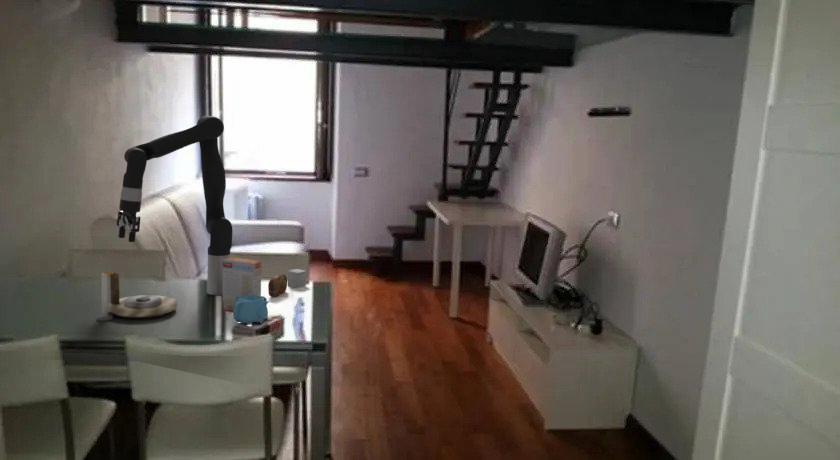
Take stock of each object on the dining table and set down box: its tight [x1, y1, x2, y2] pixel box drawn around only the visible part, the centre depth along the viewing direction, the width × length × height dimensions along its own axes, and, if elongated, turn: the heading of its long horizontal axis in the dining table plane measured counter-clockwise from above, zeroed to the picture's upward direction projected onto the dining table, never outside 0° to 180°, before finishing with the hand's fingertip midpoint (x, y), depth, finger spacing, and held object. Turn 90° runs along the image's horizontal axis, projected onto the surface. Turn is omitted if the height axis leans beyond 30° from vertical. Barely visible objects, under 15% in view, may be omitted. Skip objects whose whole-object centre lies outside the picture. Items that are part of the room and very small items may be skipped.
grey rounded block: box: [287, 268, 307, 289], centre depth 295 cm, size 6×6×7 cm
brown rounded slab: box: [267, 274, 288, 298], centre depth 279 cm, size 15×3×8 cm, turn 168°
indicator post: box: [96, 270, 115, 322], centre depth 232 cm, size 6×5×17 cm
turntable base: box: [119, 313, 167, 320], centre depth 244 cm, size 18×18×2 cm
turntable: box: [108, 271, 178, 317], centre depth 243 cm, size 24×24×14 cm
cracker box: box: [222, 256, 263, 313], centre depth 251 cm, size 14×6×21 cm, turn 71°
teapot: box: [232, 294, 270, 324], centre depth 239 cm, size 13×14×11 cm
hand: (126, 239), depth 251 cm, fingers open, 8 cm apart
